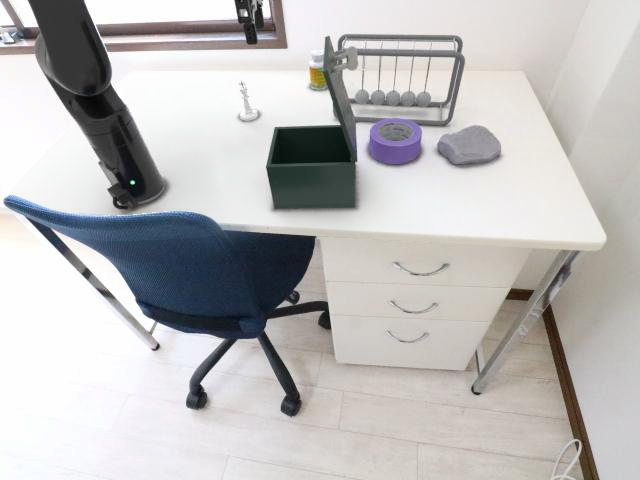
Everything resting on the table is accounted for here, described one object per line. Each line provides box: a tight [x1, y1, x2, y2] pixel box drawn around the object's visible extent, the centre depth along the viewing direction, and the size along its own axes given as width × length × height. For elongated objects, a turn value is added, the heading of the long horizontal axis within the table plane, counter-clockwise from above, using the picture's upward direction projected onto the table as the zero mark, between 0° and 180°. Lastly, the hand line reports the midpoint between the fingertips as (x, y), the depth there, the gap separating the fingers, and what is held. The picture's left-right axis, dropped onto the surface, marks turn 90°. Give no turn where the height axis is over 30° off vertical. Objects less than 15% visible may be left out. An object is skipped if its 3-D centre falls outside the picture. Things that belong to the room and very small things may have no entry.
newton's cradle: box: [332, 33, 466, 126], centre depth 93 cm, size 30×10×18 cm, turn 79°
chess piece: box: [238, 79, 259, 122], centre depth 99 cm, size 5×5×10 cm
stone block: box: [436, 124, 502, 165], centre depth 84 cm, size 12×5×10 cm
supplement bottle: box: [308, 49, 328, 91], centre depth 108 cm, size 5×5×10 cm
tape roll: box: [368, 117, 423, 165], centre depth 86 cm, size 12×12×5 cm
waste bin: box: [265, 124, 356, 210], centre depth 77 cm, size 17×14×11 cm
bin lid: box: [323, 35, 359, 164], centre depth 65 cm, size 17×14×5 cm
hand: (256, 35), depth 78 cm, fingers open, 8 cm apart
